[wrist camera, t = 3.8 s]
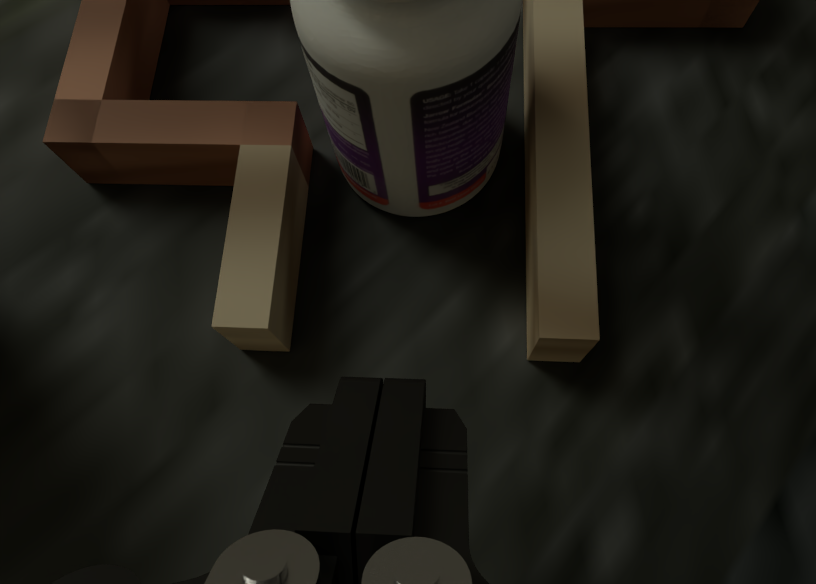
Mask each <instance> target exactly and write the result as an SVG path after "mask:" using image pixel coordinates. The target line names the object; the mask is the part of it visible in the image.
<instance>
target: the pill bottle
mask: <svg viewBox="0 0 816 584" xmlns="http://www.w3.org/2000/svg"><path fill="white" fill-rule="evenodd" d="M521 3H522V0H290V4H291V10H292V15H293V19H294V23H295V27H296V30H297V34H298V38H299V41H300V44H301V47H302V50H303V53H304V57H305V60H306V63H307V66H308V69H309V72H310V76H311V79H312V82H313V85H314V88H315V92H316V95H317V98H318V101H319V104H320V108H321V111H322V114H323V117H324V120H325V123H326V127H327V130H328V133H329V136H330V139H331V142H332V145H333V148H334V152H335V155H336V158H337V161H338V163H339V165H340V168H341V171H342V173H343V175H344V177H345V178H346V180H347V182H348V183H349V185H350V186H351V187H352V189H353V190H354V191H355V192H356V193H357V194H358V195H359V196H360V197H361V198H362V199H364V200H365V201H367V202H368V203H369V204H371V205H373V206H375V207H377V208H379V209H381V210H383V211H386V212H389V213H392V214H397V215H401V216H408V217H423V216H431V215H436V214H440V213H444V212H447V211H450V210H452V209H454V208H456V207H459V206H460V205H462V204H464V203H466V202H467V201H468V200H470V199H471V198H473V197H474V196H475V195H476V194H477V193H478V192H479V191H480V190H481V189H482V188H483V187H484V186H485V184H486V183H487V182H488V180H489V179H490V177H491V175H492V173H493V171H494V169H495V167H496V165H497V162H498V159H499V154H500V150H501V145H502V140H503V133H504V125H505V117H506V110H507V103H508V96H509V89H510V81H511V75H512V69H513V62H514V55H515V48H516V41H517V34H518V27H519V21H520V13H521Z"/></svg>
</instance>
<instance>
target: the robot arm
mask: <svg viewBox="0 0 816 584" xmlns="http://www.w3.org/2000/svg"><path fill="white" fill-rule="evenodd" d="M51 584H141V582H140V580H139V579H138V577H137V576H136V575H135V574H134V573H133V572H132V571H130V570H128V569H127V568H125V567H121V566H118V565H110V564H103V565H94V566H88V567H85V568H82V569H78V570H76V571H73V572H71V573H69V574H67V575H65V576H63V577H61V578H59V579H57V580H56V581H54V582H52V583H51ZM172 584H489V583H488V582H487V581H486V580H485V579H484V578H483V577H482V576H481V574H480V573H479V572H478V570H477V569H476V567H475V565H474V563H473V561H472V558H471V555H470V550H469V525H468V474H467V428H466V427H465V425H464V424H463V422H462V421H461V419H460V418H459V416H458V414H457V413H456V411H455V410H454V409H435V408H426V380H424V379H396V378H385V380H384V384H383V379H382V378H364V377H341V379H340V381H339V384H338V388H337V391H336V394H335V398H334V401H333V404H332V405H328V404H309V405H308V406H307V407H306V408H305V409H304V410H303V411H302V412H301V413H300V414H299V415H298V416H297V417H296V418H295V419H294V420H293V421H292V422H291V424H290V427H289V429H288V432H287V435H286V437H285V440H284V443H283V447H282V448H281V450H280V453H279V456H278V458H277V463H276V466H274V469H273V471H272V474H271V477H270V479H269V482H268V484H267V487H266V490H265V492H264V495H263V497H262V500H261V503H260V505H259V508H258V511H257V513H256V516H255V518H254V521H253V524H252V526H251V529H250V531H249V534H248V535H247V536H245V537H243V538H241V539H239V540H238V541H236V542H235V543H233V544H232V545H230V546H229V547H228V548H227V549H226V550H225V551H224V552H223V553H222V554H221V555H220V556H219V558H218V559H217V561H216V562H215V564H214V566H213V568H212V570H211V572H209V573H207V574H204V575H202V576H199V577H196V578H193V579H189V580H186V581H181V582H177V583H172Z"/></svg>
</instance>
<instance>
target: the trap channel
mask: <svg viewBox="0 0 816 584" xmlns="http://www.w3.org/2000/svg"><path fill="white" fill-rule="evenodd" d="M759 1H760V0H523V49H524V135H525V221H526V307H527V360H532V361H560V362H580V361H581V360H582V359H583V358H584V357H585V356H586V355H587V353H588V352H589V351H590V350H591V349H592V348H593V347H594V346H595V345H596V343H597V342H598V341H599V340H600V336H599V317H598V297H597V277H596V257H595V238H594V218H593V198H592V178H591V159H590V139H589V119H588V99H587V80H586V60H585V40H584V27H724V28H743V27H744V25H745V23H746V22H747V20H748V18H749V17H750V15H751V14H752V12H753V10H754V9H755V7H756V5H757V4H758V2H759ZM170 5H291V4H290V0H82V1H81V5H80V9H79V12H78V16H77V19H76V23H75V27H74V30H73V34H72V38H71V41H70V45H69V48H68V52H67V56H66V59H65V63H64V66H63V70H62V74H61V77H60V81H59V84H58V88H57V92H56V95H55V99H54V103H53V106H52V110H51V113H50V117H49V121H48V124H47V128H46V131H45V135H44V139H43V143H44V144H45V145H47V146H48V147H49V148H50V149H51V150H52V151H53V152H54V153H55V154H56V155H57V156H58V157H60V158H61V159H62V160H63V161H64V162H65V163H66V164H67V165H68V166H69V167H70V168H71V169H73V170H74V171H75V172H76V173H77V174H78V175H79V176H80V177H81V178H82V179H83V180H84V181H86V182H87V183H101V184H154V185H207V186H234V188H233V194H232V201H231V207H230V213H229V220H228V226H227V232H226V239H225V245H224V251H223V257H222V264H221V270H220V276H219V283H218V289H217V295H216V302H215V308H214V314H213V321H212V327H213V328H214V329H215V330H216V331H218V332H219V333H220V334H221V335H223V336H224V337H225V338H226V339H228V340H229V341H230V342H231V343H233V344H234V345H235V346H236V347H238V348H239V349H240V350H260V351H287V352H290V346H291V337H292V328H293V320H294V311H295V302H296V293H297V285H298V276H299V267H300V259H301V250H302V241H303V232H304V224H305V215H306V206H307V197H308V189H309V180H310V171H311V163H312V154H313V146H312V143H311V140H310V137H309V134H308V132H307V129H306V126H305V123H304V120H303V118H302V115H301V112H300V109H299V106H298V104H297V102H288V101H184V100H149V99H150V94H151V89H152V85H153V80H154V76H155V71H156V67H157V62H158V57H159V53H160V48H161V44H162V39H163V35H164V30H165V25H166V21H167V16H168V12H169V7H170Z"/></svg>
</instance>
